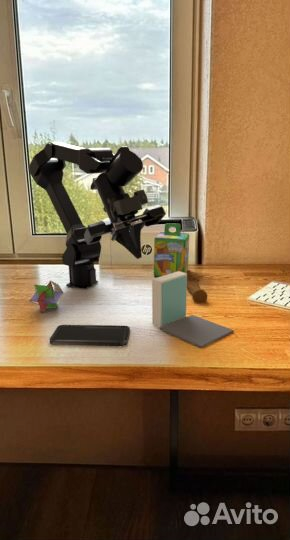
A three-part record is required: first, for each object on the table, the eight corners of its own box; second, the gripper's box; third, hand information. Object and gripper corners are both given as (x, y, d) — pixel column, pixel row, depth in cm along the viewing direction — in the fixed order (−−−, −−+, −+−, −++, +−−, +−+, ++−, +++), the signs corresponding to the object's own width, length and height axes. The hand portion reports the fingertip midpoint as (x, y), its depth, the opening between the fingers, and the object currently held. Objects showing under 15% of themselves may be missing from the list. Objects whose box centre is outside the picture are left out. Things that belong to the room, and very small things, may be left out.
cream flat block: (152, 323, 87) (152, 279, 84) (178, 313, 92) (178, 271, 89) (161, 327, 85) (161, 282, 82) (187, 317, 90) (188, 273, 87)
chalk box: (153, 277, 118) (153, 226, 114) (159, 268, 127) (159, 220, 122) (185, 279, 116) (186, 227, 112) (189, 269, 125) (190, 221, 120)
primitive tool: (177, 280, 116) (178, 268, 115) (196, 279, 117) (197, 267, 116) (192, 305, 98) (193, 291, 97) (215, 304, 99) (215, 290, 98)
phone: (126, 343, 77) (47, 341, 78) (126, 348, 77) (48, 346, 78) (130, 325, 84) (59, 324, 85) (130, 330, 85) (59, 329, 86)
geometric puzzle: (48, 310, 89) (57, 276, 91) (20, 307, 91) (30, 273, 93) (62, 318, 95) (70, 286, 98) (36, 315, 97) (44, 284, 100)
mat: (160, 329, 84) (159, 328, 84) (192, 316, 90) (192, 314, 90) (201, 348, 76) (201, 346, 76) (233, 331, 82) (233, 330, 82)
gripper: (80, 190, 83) (109, 259, 81) (159, 170, 90) (188, 233, 88) (73, 212, 93) (98, 274, 91) (145, 193, 100) (170, 250, 98)
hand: (139, 258), depth 92 cm, fingers closed
